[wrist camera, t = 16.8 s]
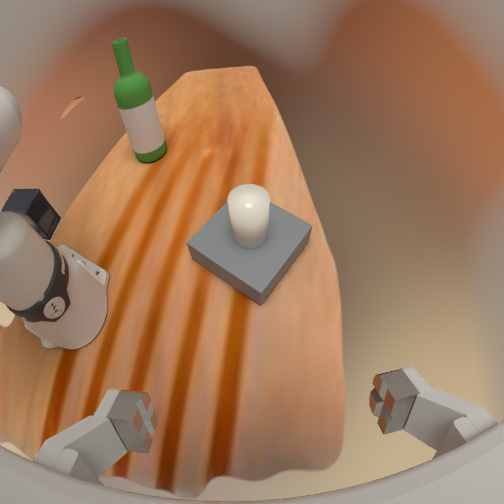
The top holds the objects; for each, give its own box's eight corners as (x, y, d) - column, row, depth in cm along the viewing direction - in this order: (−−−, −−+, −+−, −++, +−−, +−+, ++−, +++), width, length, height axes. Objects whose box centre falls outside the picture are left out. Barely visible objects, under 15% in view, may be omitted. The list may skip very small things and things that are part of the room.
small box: (23, 237, 52) (-1, 211, 43) (35, 215, 55) (13, 187, 46) (49, 241, 51) (24, 212, 42) (62, 217, 54) (39, 187, 45)
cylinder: (225, 236, 44) (218, 202, 37) (247, 214, 46) (245, 178, 39) (253, 255, 42) (252, 222, 35) (275, 230, 44) (277, 195, 38)
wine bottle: (167, 140, 65) (141, 30, 39) (168, 159, 61) (136, 38, 35) (138, 148, 64) (104, 41, 39) (136, 167, 60) (95, 52, 35)
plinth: (192, 259, 48) (186, 243, 44) (243, 205, 54) (241, 187, 49) (260, 305, 44) (261, 293, 39) (308, 242, 49) (312, 225, 45)
